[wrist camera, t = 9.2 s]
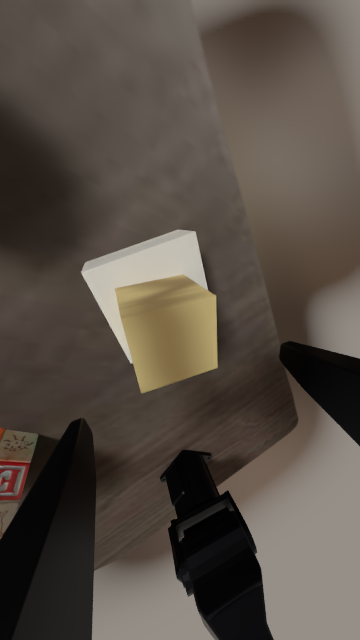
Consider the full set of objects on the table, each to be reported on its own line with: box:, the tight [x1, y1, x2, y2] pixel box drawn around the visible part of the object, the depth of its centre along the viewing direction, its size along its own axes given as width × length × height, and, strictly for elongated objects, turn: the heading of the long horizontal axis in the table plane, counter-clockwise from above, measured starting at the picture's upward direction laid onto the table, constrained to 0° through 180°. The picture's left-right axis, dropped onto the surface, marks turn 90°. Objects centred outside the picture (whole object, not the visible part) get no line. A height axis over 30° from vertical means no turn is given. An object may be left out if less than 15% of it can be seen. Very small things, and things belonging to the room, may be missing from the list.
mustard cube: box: [115, 275, 218, 393], centre depth 13 cm, size 5×5×5 cm
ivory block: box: [81, 230, 208, 363], centre depth 17 cm, size 8×8×4 cm
